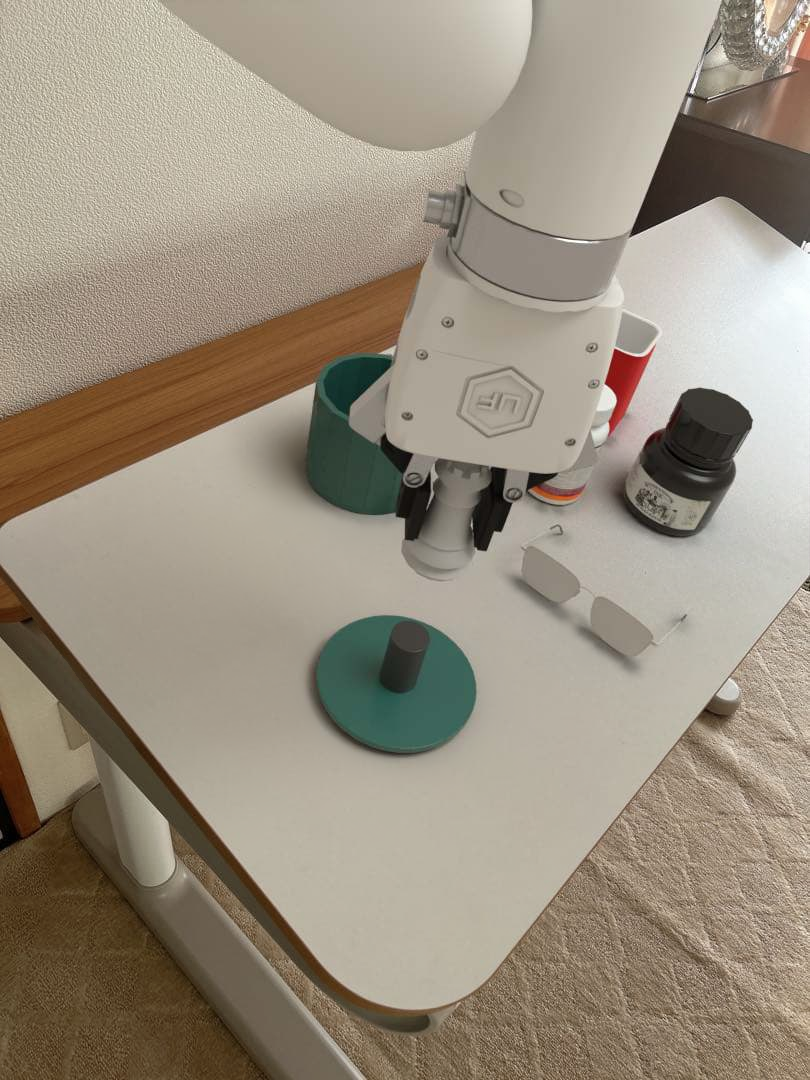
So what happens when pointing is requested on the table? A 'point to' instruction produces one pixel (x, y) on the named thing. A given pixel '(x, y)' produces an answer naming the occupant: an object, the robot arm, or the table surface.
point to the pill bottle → (573, 483)
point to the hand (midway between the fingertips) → (445, 526)
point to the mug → (630, 360)
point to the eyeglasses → (605, 613)
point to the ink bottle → (688, 463)
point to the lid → (396, 684)
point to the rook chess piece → (448, 522)
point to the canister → (349, 440)
